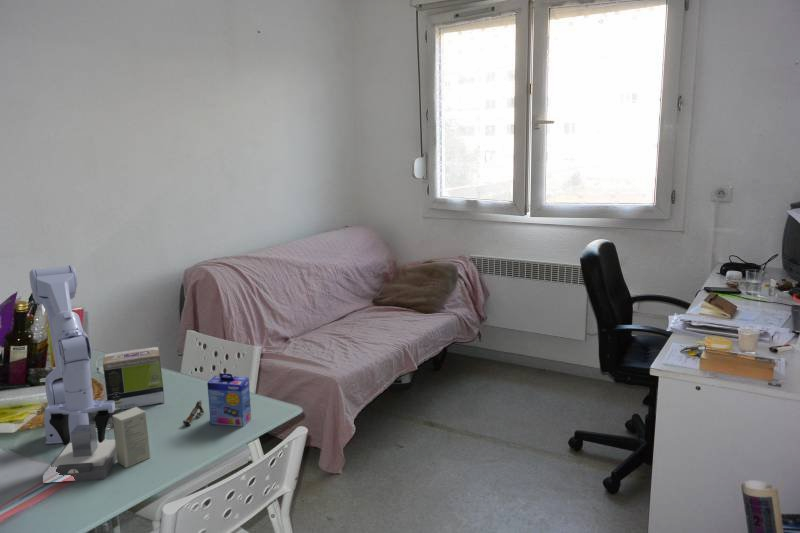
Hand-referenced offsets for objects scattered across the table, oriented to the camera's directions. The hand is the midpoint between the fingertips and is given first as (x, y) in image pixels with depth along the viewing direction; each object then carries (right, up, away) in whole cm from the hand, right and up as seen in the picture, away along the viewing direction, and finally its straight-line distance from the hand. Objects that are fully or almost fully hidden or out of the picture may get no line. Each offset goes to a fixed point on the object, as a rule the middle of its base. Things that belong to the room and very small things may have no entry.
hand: (84, 441), depth 139 cm
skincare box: (+11, -5, +2) cm, 12 cm away
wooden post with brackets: (+18, -1, +23) cm, 29 cm away
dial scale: (0, -6, 0) cm, 5 cm away
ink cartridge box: (+28, -1, +22) cm, 36 cm away
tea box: (-4, +1, +35) cm, 36 cm away
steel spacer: (0, -3, 0) cm, 3 cm away
